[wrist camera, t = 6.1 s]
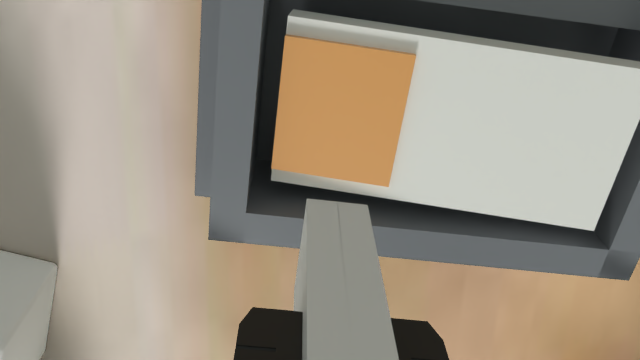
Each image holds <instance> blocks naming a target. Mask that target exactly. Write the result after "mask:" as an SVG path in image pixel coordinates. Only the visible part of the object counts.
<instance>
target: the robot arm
mask: <svg viewBox="0 0 640 360" xmlns="http://www.w3.org/2000/svg"><path fill="white" fill-rule="evenodd" d="M234 360H449V358H448V354H447V351H446V348H445V345H444V342H443V340H442V338H441V337H440V336H439V335H438V334H437V332H436V331H435V330H434V329H433V328H432V326H431V325H430V324H429V323H428V322H427V321H416V320H405V319H394V318H390V313H389V308H388V303H387V298H386V293H385V288H384V283H383V279H382V274H381V269H380V264H379V259H378V254H377V249H376V244H375V239H374V234H373V229H372V224H371V219H370V214H369V210H368V205H364V204H354V203H345V202H335V201H326V200H317V199H307V201H306V208H305V215H304V223H303V230H302V237H301V245H300V252H299V259H298V266H297V274H296V281H295V288H294V311H288V310H277V309H266V308H255V307H253V308H252V309H251V310H250V311H249V313H248V314H247V315H246V316H245V318H244V319H243V320H242V321H241V323H240V324H239V329H238V336H237V342H236V349H235V354H234Z"/></svg>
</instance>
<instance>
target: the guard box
mask: <svg viewBox="0 0 640 360" xmlns="http://www.w3.org/2000/svg"><path fill="white" fill-rule="evenodd" d="M293 9H296V10H302V11H309V12H316V13H322V14H329V15H335V16H342V17H349V18H355V19H362V20H368V21H375V22H382V23H388V24H395V25H401V26H408V27H415V28H421V29H428V30H435V31H441V32H448V33H454V34H461V35H468V36H474V37H481V38H487V39H494V40H501V41H507V42H514V43H520V44H527V45H534V46H540V47H547V48H554V49H560V50H567V51H573V52H580V53H587V54H593V55H600V56H606V57H613V58H620V59H626V60H633V61H639V62H640V0H202V12H201V39H200V66H199V93H198V121H197V148H196V175H195V196H204V197H211V198H210V218H209V237H208V240H217V241H227V242H238V243H248V244H258V245H269V246H279V247H289V248H299V249H300V245H301V237H302V230H303V223H304V215H305V208H306V201H307V199H317V200H326V201H335V202H345V203H354V204H364V205H368V210H369V214H370V219H371V224H372V229H373V234H374V239H375V244H376V249H377V254H378V256H382V257H392V258H403V259H413V260H423V261H433V262H444V263H454V264H464V265H475V266H485V267H495V268H506V269H516V270H526V271H536V272H547V273H557V274H567V275H578V276H588V277H598V278H609V279H619V280H629V279H630V277H631V275H632V273H633V271H634V268H635V266H636V264H637V262H638V260H639V258H640V120H639V122H638V125H637V127H636V130H635V132H634V134H633V137H632V139H631V142H630V144H629V147H628V149H627V151H626V154H625V156H624V159H623V161H622V164H621V166H620V169H619V171H618V173H617V176H616V178H615V181H614V183H613V186H612V188H611V191H610V193H609V195H608V198H607V200H606V203H605V205H604V208H603V210H602V213H601V215H600V217H599V220H598V222H597V225H596V227H595V230H594V231H590V230H584V229H578V228H571V227H565V226H558V225H552V224H546V223H539V222H533V221H527V220H520V219H514V218H508V217H501V216H495V215H488V214H482V213H476V212H469V211H463V210H457V209H450V208H444V207H437V206H431V205H425V204H418V203H412V202H406V201H399V200H393V199H387V198H380V197H374V196H367V195H361V194H355V193H348V192H342V191H336V190H329V189H323V188H316V187H310V186H304V185H297V184H291V183H285V182H278V181H272V180H271V174H272V169H271V166H272V156H273V146H274V137H275V127H276V117H277V108H278V98H279V88H280V79H281V69H282V59H283V50H284V40H285V35H286V30H287V20H288V15H289V14H290V12H291V11H292V10H293Z"/></svg>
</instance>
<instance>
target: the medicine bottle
mask: <svg viewBox="0 0 640 360" xmlns="http://www.w3.org/2000/svg"><path fill="white" fill-rule="evenodd" d="M57 269H58V268H57V265H56V264H55V263H52V262H48V261H44V260H40V259H36V258H32V257H27V256H23V255H19V254H15V253H11V252H7V251H3V250H0V360H40V358H41V357H42V355H43V353H44V351H45V348H46V342H47V335H48V328H49V322H50V315H51V309H52V302H53V295H54V289H55V282H56V276H57Z"/></svg>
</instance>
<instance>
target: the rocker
mask: <svg viewBox="0 0 640 360" xmlns="http://www.w3.org/2000/svg"><path fill="white" fill-rule="evenodd" d="M639 120H640V62H639V61H633V60H626V59H620V58H613V57H606V56H600V55H593V54H587V53H580V52H573V51H567V50H560V49H554V48H547V47H540V46H534V45H527V44H520V43H514V42H507V41H501V40H494V39H487V38H481V37H474V36H468V35H461V34H454V33H448V32H441V31H435V30H428V29H421V28H415V27H408V26H401V25H395V24H388V23H382V22H375V21H368V20H362V19H355V18H349V17H342V16H335V15H329V14H322V13H316V12H309V11H302V10H296V9H293V10H292V11H291V12H290V14H289V15H288V20H287V30H286V35H285V40H284V50H283V59H282V69H281V79H280V88H279V98H278V108H277V117H276V127H275V137H274V146H273V156H272V166H271V169H272V174H271V180H272V181H278V182H285V183H291V184H297V185H304V186H310V187H316V188H323V189H329V190H336V191H342V192H348V193H355V194H361V195H367V196H374V197H380V198H387V199H393V200H399V201H406V202H412V203H418V204H425V205H431V206H437V207H444V208H450V209H457V210H463V211H469V212H476V213H482V214H488V215H495V216H501V217H508V218H514V219H520V220H527V221H533V222H539V223H546V224H552V225H558V226H565V227H571V228H578V229H584V230H590V231H594V230H595V227H596V225H597V222H598V220H599V217H600V215H601V213H602V210H603V208H604V205H605V203H606V200H607V198H608V195H609V193H610V191H611V188H612V186H613V183H614V181H615V178H616V176H617V173H618V171H619V169H620V166H621V164H622V161H623V159H624V156H625V154H626V151H627V149H628V147H629V144H630V142H631V139H632V137H633V134H634V132H635V130H636V127H637V125H638V122H639Z"/></svg>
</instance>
